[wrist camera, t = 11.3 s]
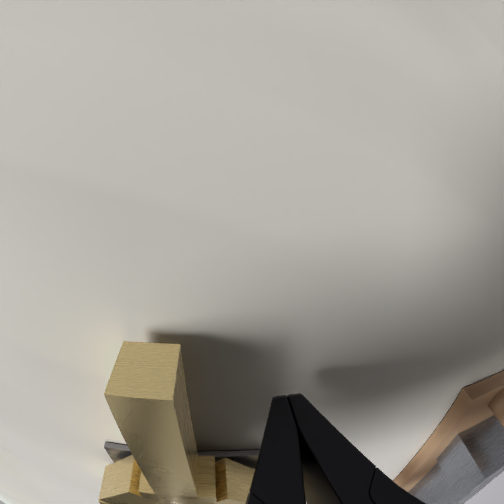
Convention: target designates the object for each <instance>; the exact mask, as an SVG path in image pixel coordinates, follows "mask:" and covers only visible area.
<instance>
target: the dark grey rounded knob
mask: <svg viewBox="0 0 504 504" xmlns="http://www.w3.org/2000/svg"><path fill="white" fill-rule="evenodd" d="M104 448H105V449H106V451H107V452H108V454H109V456H110V457H111V459H112V460H113V462H114V463H115V462H117V461H119V460H121V459H123V458H125V457H128V456H130V455H132V453H131V451H130V449H129V447H128V445H121V444H115V443H109V442H105V446H104ZM197 452H198V456H214V457H215V462H217V461H219V460H221V459H224V458H227V459H229V460H232V461H235V462H237V463H240V464H242V465H245V466H248V467H251V468H254V469H255V467H256V464H257V460H258V456H259V452H260V450H244V451H197Z"/></svg>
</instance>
